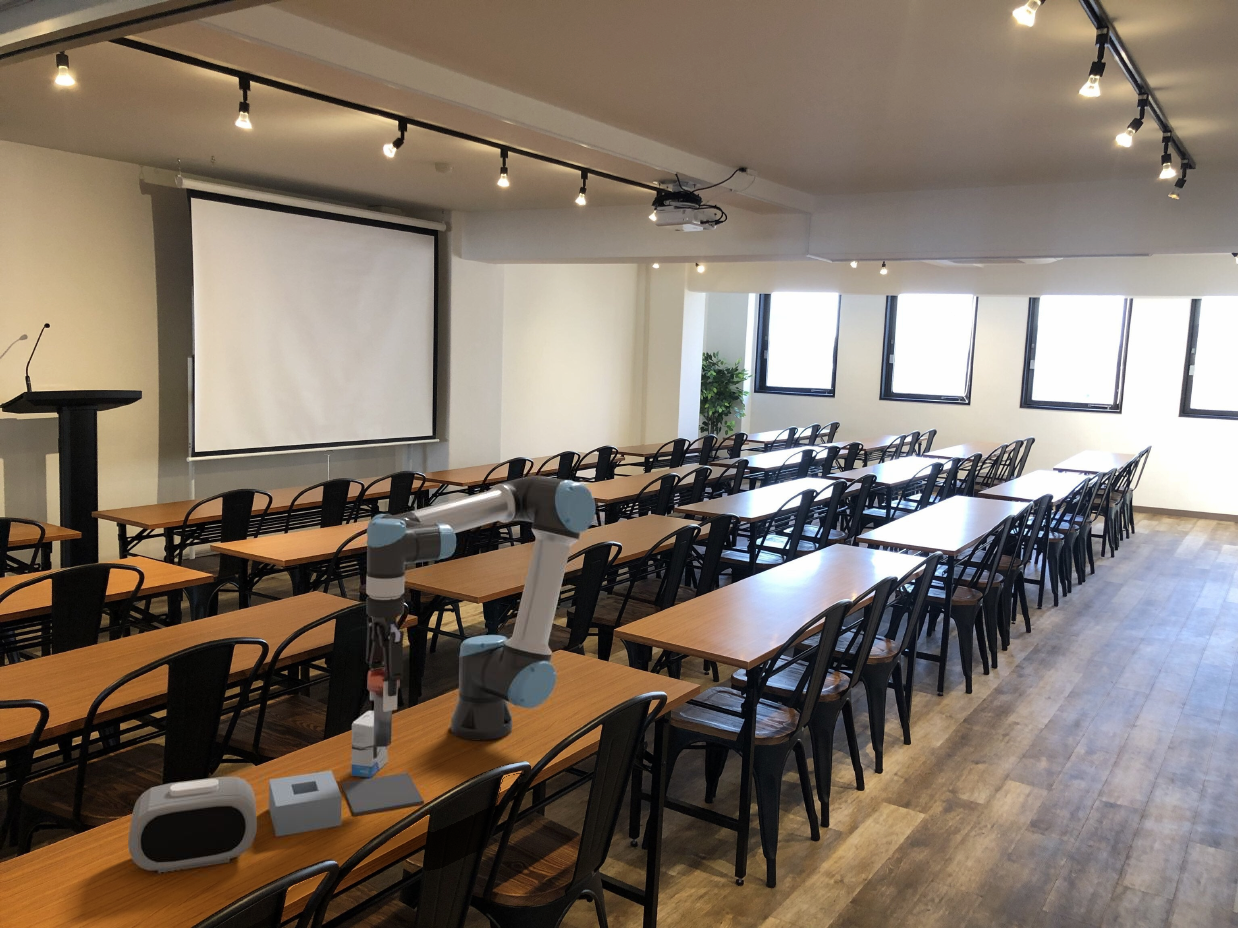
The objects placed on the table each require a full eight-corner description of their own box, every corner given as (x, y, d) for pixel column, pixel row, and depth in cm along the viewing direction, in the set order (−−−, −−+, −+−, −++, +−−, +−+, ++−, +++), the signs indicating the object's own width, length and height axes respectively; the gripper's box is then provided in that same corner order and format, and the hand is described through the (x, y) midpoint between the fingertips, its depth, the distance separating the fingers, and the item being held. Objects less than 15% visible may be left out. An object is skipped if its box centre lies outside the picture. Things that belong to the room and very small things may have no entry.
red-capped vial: (373, 752, 188) (374, 675, 186) (361, 740, 193) (363, 666, 192) (403, 745, 192) (404, 670, 190) (390, 734, 197) (392, 661, 195)
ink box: (370, 778, 201) (371, 726, 200) (349, 775, 202) (350, 723, 201) (388, 762, 209) (389, 712, 208) (368, 759, 210) (368, 709, 209)
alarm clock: (128, 881, 159) (127, 806, 157) (132, 853, 168) (131, 782, 166) (257, 860, 167) (257, 789, 166) (254, 834, 176) (255, 767, 174)
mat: (407, 774, 203) (407, 772, 203) (423, 803, 191) (423, 800, 191) (341, 785, 197) (341, 782, 197) (354, 815, 185) (354, 812, 185)
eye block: (331, 798, 191) (331, 770, 191) (341, 825, 181) (341, 795, 180) (269, 808, 186) (269, 779, 185) (275, 836, 175) (276, 806, 175)
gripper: (422, 604, 184) (419, 716, 186) (384, 582, 199) (382, 686, 202) (386, 608, 179) (384, 723, 182) (350, 586, 195) (348, 692, 197)
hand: (383, 704), depth 192 cm, fingers closed on red-capped vial, 6 cm apart
